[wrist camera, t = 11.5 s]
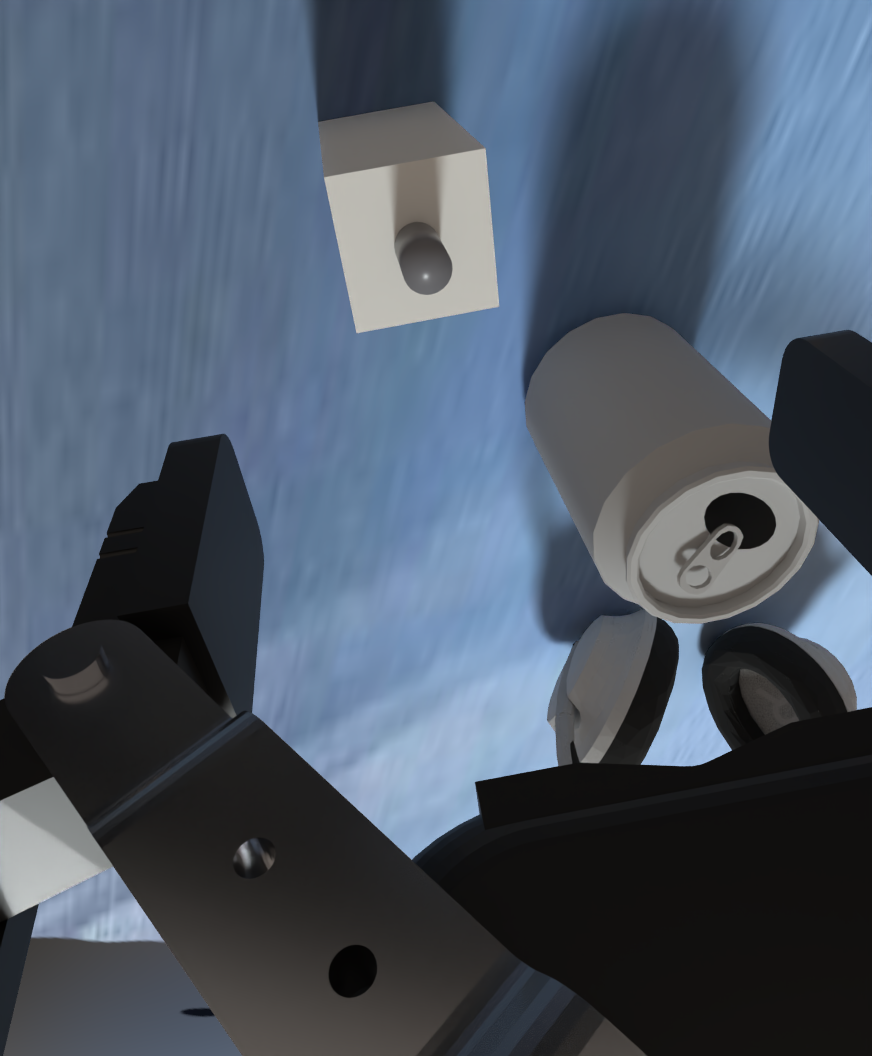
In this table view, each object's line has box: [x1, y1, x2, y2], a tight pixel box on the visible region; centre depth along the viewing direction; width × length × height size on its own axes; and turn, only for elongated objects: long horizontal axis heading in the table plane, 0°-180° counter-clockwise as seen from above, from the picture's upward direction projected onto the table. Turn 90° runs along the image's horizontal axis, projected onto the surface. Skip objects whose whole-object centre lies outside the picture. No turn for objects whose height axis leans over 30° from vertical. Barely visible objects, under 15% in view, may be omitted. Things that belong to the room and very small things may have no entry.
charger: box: [318, 101, 499, 333], centre depth 22 cm, size 4×4×11 cm
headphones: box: [547, 609, 857, 766], centre depth 35 cm, size 19×8×20 cm, turn 76°
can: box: [525, 313, 819, 624], centre depth 28 cm, size 8×8×12 cm
